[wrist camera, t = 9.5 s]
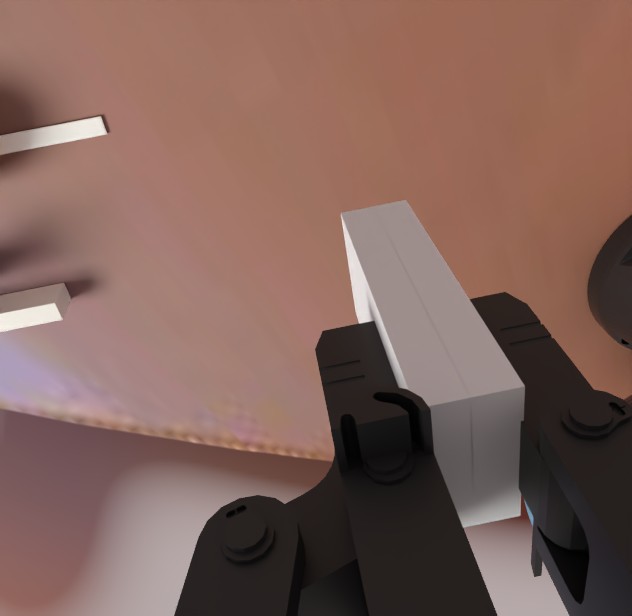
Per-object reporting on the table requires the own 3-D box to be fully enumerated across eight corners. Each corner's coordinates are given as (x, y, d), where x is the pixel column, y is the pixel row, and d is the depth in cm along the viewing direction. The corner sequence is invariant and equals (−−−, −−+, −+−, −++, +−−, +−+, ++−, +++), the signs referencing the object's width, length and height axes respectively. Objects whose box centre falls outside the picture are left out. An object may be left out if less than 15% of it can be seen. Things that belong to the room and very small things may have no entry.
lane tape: (101, 115, 41) (100, 116, 40) (107, 133, 41) (106, 134, 41) (-47, 144, 40) (-48, 145, 40) (-39, 161, 41) (-40, 162, 41)
